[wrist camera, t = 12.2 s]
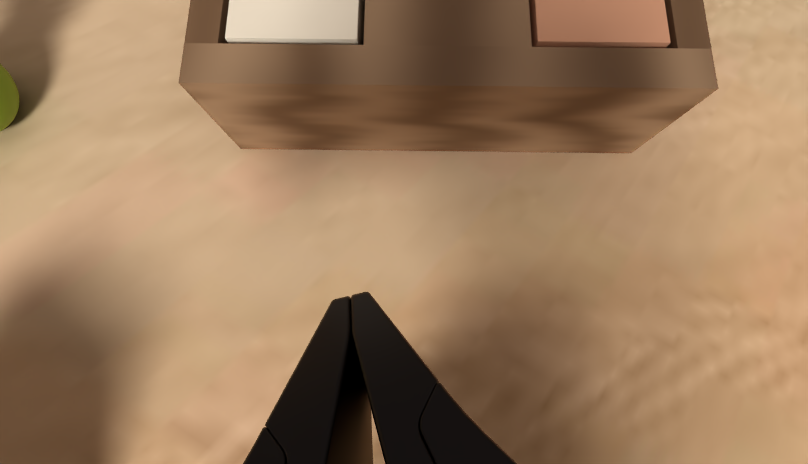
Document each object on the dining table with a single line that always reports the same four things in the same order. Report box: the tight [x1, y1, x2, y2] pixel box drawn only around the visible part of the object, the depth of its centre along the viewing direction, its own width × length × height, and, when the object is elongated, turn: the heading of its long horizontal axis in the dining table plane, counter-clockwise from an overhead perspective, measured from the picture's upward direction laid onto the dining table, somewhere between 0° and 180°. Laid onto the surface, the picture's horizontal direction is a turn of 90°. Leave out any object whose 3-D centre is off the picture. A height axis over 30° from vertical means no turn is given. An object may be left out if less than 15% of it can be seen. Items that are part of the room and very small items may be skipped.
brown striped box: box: [179, 0, 718, 153], centre depth 22 cm, size 24×11×7 cm, turn 89°
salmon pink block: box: [529, 0, 671, 48], centre depth 22 cm, size 6×6×7 cm
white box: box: [225, 0, 365, 45], centre depth 22 cm, size 6×6×7 cm
